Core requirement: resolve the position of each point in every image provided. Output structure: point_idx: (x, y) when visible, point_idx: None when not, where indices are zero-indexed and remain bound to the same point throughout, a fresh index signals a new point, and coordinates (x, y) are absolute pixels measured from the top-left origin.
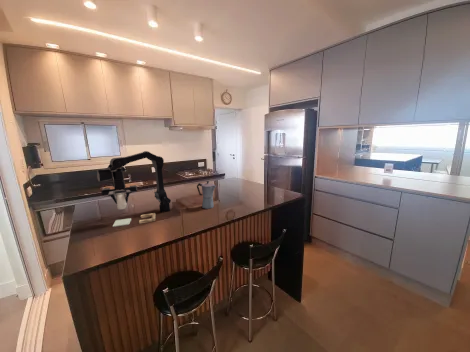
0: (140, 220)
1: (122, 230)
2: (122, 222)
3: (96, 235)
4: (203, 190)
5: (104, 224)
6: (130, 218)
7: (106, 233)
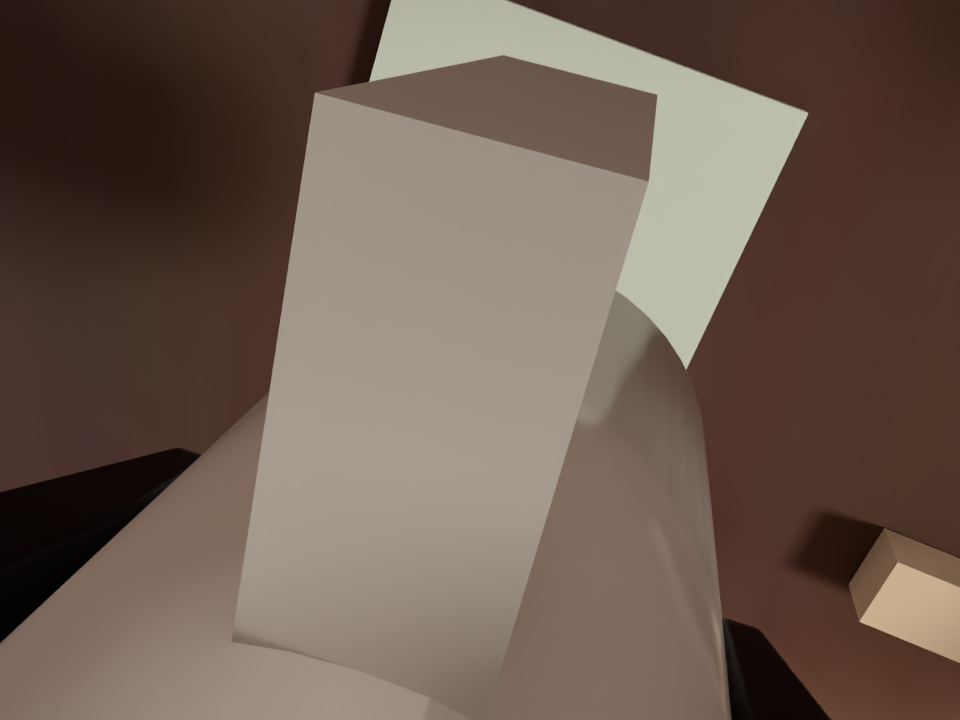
0: (908, 597)
1: None
2: None
3: None
4: None
5: (146, 4)
6: (780, 130)
7: None
